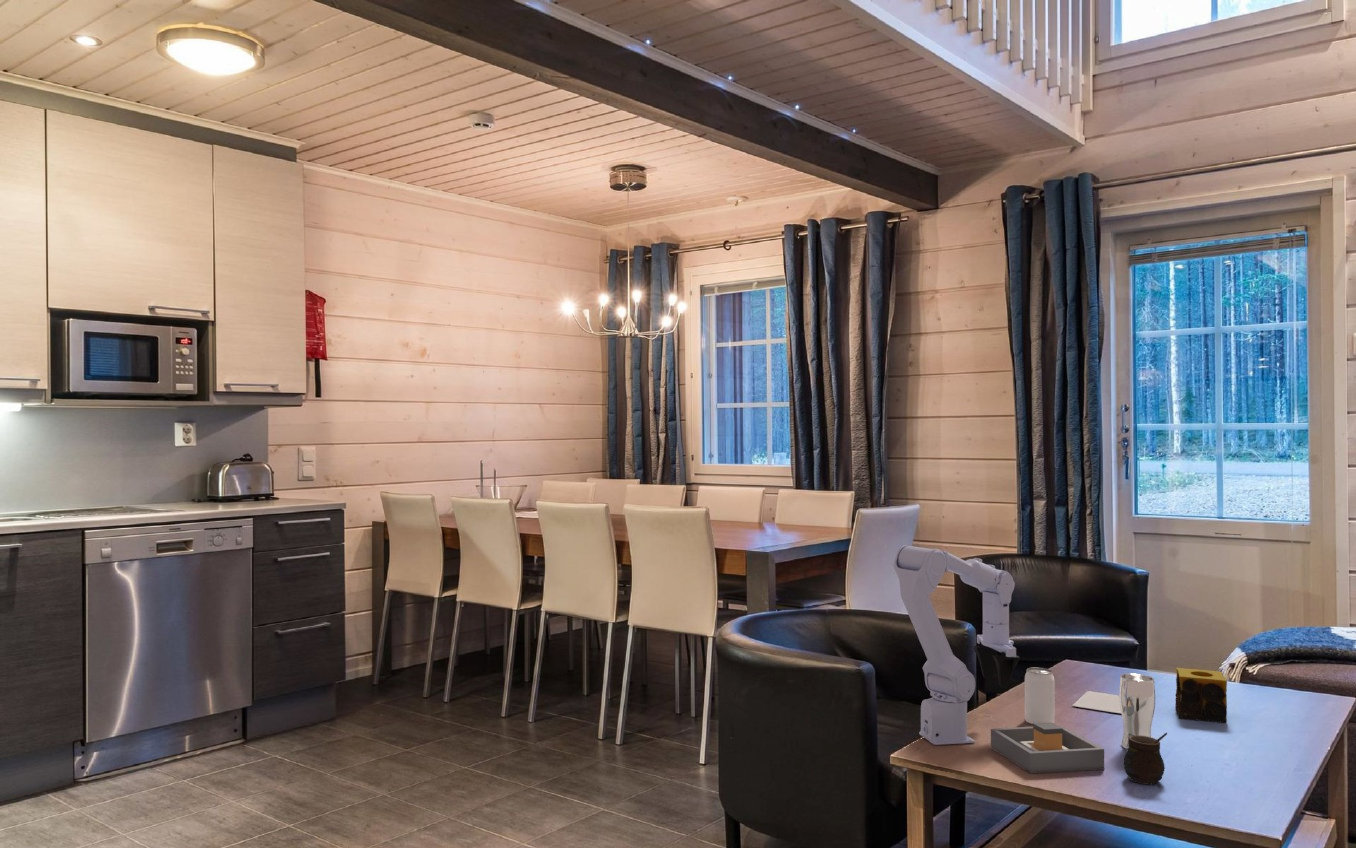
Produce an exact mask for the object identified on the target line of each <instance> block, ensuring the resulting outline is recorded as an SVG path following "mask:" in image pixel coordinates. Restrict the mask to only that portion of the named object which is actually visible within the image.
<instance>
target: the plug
mask: <svg viewBox="0 0 1356 848" xmlns="http://www.w3.org/2000/svg"><path fill="white" fill-rule="evenodd" d="M1032 727H1033V728H1034V748H1036V749H1037V750H1039V751H1050V750H1062V733H1063V728H1061V727H1059V726H1057V724H1055V722H1054V723H1052V722H1049V723H1033V725H1032Z"/></svg>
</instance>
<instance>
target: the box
mask: <svg viewBox="0 0 1356 848" xmlns="http://www.w3.org/2000/svg"><path fill="white" fill-rule="evenodd" d="M1056 725H1057V724H1056ZM1057 726H1059V727H1061V728H1063V733H1062V750H1050V751H1039V750H1037V749H1036V748H1034V728H1033V726H1019V727H1018V726H1017V727H1003V728H998V727H997V728H990V748H991V749H992V750H994V751H995V752H997V753H998V754H1000V755H1001V756H1003V757H1005V758H1006V759H1007V760H1009V761H1010V762H1012V763H1014V764H1015V765H1017V767H1020V768H1021V769H1022V770H1024V771H1025V772H1027V773H1028V774H1030V775H1031V774H1033V775H1034V774H1049V773H1050V774H1051V773H1063V772H1064V773H1065V772H1078V771H1080V772H1081V771H1096V770H1098V771H1099V770H1105V748H1103V747H1101V746H1100V745H1097V744H1096V743H1094V742H1092V741H1090V740H1088V739H1086V738H1085V737H1084V736H1083V737H1082V736H1081V735H1079V734H1077V733H1075V732H1073V731H1071V730H1070V729H1067V728H1065V727H1063V725H1060V724H1059V725H1057Z"/></svg>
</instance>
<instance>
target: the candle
mask: <svg viewBox="0 0 1356 848" xmlns="http://www.w3.org/2000/svg"><path fill="white" fill-rule="evenodd" d="M1175 670H1176V671H1175V672H1176V677H1175V682H1176V683H1175V684H1176V686H1175V687H1176V689H1175V704H1174V705H1175V711H1176V714H1178V716H1177V717H1178V718H1179V719H1186V720H1191V721H1192V720H1193V721H1204V722H1214V723H1223V724H1225V723H1227V721H1228V720H1227V715H1228V710H1227V709H1228V703H1227V701H1228V700H1227V699H1228V697H1227V690H1228V688H1227V686H1228V680H1227V679H1226V678H1225V676H1224V674H1223V672H1222V671H1217V670H1209V669H1208V670H1207V669H1197V668H1196V669H1193V668H1183V667H1175Z"/></svg>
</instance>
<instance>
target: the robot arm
mask: <svg viewBox="0 0 1356 848" xmlns="http://www.w3.org/2000/svg"><path fill="white" fill-rule="evenodd" d="M892 565H893V568H894V571H895V573H896V576H897V578H898V581H899V589H900V590H899V591H900V592H899V593H900V597H901V600H902V602H903V605H904V607H905V610H906V611H907V615H908V617H909V619H910V622H911V623H912V625H913V628H914V630H915V633H916V635H917V639H918V640H919V643H920V645H921V647H922V650H923V652H924V654H925V657H926V659H927V660H926V662H925V663H924V664H923V666H922V671H923V673H924V682H925V686H926V688H927V690H928V691H929V692H930V693H929V694H930V695H929V696H931V697H930V698H927V699H922V702H921V705H920V731H919V732H918V733H919V735H920V736H921V737H923V738H924V739H925V740H927V741H928V742H930V743H931V744H932V745H934V746H936V745H937V746H939V745H940V746H941V745H943V746H944V745H957V744H974V743H975V742H976V741H975V740H974V739H973V738H971V737H970V736H969V735H968V733H967V732H968V701H971V700H970V699H971V698H972V696H973V695H974V693H975V691H976V679H975V676H974V674H972V672H970V671H969V669H968V668H967V665H966V664H965V663H964V662H963V661H961V660H960V659H959V658H958V657H956V656H955V654H954V653H953V650H952V649H951V646H950V643H949V641H948V639H947V637H946V633H945V631H944V630H943V629H944V628H943V627H942V625H941V624H942V623H941V622H940V619H939V617H938V614H937V613H936V610H935V607H934V604H933V602H932V600H931V598H930V594H932V593H934V592H935V591H936V589H937V588H938V585H939V583H940V582H941V580H942V578H943V576H944V574H945V573H947V572H950V573H953V574H956V575H958V576H959V578H960V580H961V582H963V583H964V584H966V585H969V586H971V587H973V588H976V589H977V590H978V591H979V592H980V593H982V634H977V635H976V643H977V644H978V645H974V646H973V650H974V652H975V654H976V657H977V659H978V663H979V666H980V669H981V673H982V677H983V678H985V679H987V678H994V673H995V667H996V670H997V671H996V672H997V679H998V681H997V682H998V684H999V687H1010V685H1011V681H1012V676H1013V674H1014V671H1015V668H1016V666H1017V664H1018V662H1020V659H1021V658H1020V656H1019V655H1017V648H1016V647H1015V646H1013V645H1014V640H1011V639H1010V603H1011V601H1012V594H1013V592H1014V590H1015V585H1016V582H1015V581H1014V578H1013V576H1012V574H1011V573H1010V572H1008V571H1007V570H1002V569H998V568H996V566H995V565H993V564H986V563H984V562H983V559H981V558H979V557H978V558H977V557H974V558H970V559H967V560H964V559H962V558H960V557H958V556H956V555H954V554H952V553H951V552H948V551H947V550H941V549H939V548H927V547H920V546H912V545H910V544H904V545H902V546H900V548H898V550H897V552H896V554H895V557H894V562H893V564H892ZM998 652H999V654H998Z"/></svg>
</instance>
